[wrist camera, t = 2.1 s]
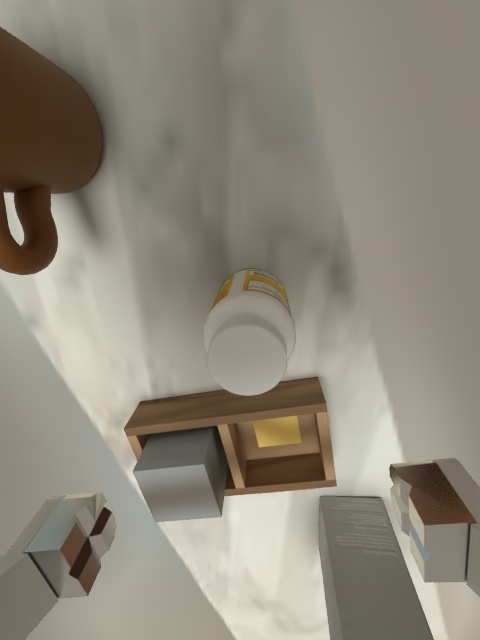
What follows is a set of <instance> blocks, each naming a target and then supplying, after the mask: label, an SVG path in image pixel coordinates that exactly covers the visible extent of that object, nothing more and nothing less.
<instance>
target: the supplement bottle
mask: <svg viewBox="0 0 480 640" xmlns="http://www.w3.org/2000/svg"><path fill="white" fill-rule="evenodd" d="M203 338H204V345H205V348H206V351H207V366H208V369H209V372H210V374H211V376H212V378H213V379H214V380H215V382H216V383H217V384H218V385H220V386H221V387H222V388H224V389H225V390H227V391H229V392H231V393H234V394H238V395H245V396H252V395H258V394H262V393H265V392H267V391H269V390H270V389H272V388H273V387H275V386H276V385H277V384H278V383H279V382H280V381H281V379H282V378H283V376H284V374H285V372H286V368H287V361H288V360H289V359H290V357H291V355H292V353H293V350H294V347H295V342H296V332H295V325H294V321H293V318H292V315H291V311H290V307H289V304H288V300H287V296H286V293H285V290H284V288H283V286H282V285H281V283H280V282H279V281H278V280H277V279H276V278H275V277H274V276H273V275H271V274H269V273H268V272H265V271H262V270H258V269H246V270H242V271H239V272H237V273H235V274H233V275H232V276H231V277H229V278H228V279H227V280H226V282H225V283H224V284H223V286H222V287H221V289H220V291H219V293H218V296H217V298H216V300H215V302H214V304H213V306H212V308H211V310H210V312H209V314H208V317H207V319H206V322H205V326H204V332H203Z"/></svg>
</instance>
